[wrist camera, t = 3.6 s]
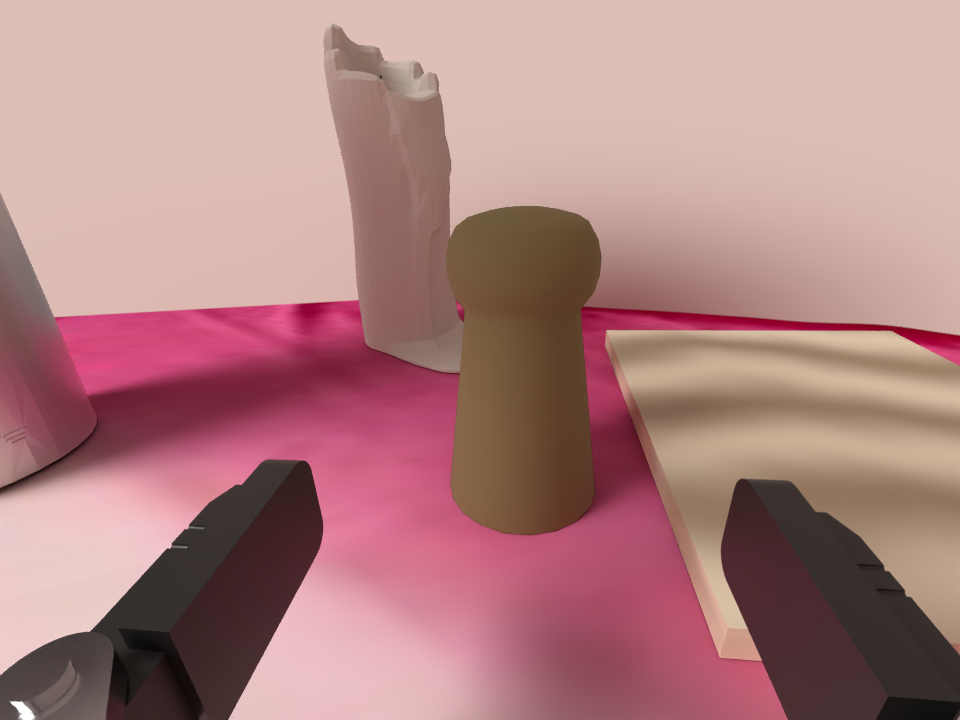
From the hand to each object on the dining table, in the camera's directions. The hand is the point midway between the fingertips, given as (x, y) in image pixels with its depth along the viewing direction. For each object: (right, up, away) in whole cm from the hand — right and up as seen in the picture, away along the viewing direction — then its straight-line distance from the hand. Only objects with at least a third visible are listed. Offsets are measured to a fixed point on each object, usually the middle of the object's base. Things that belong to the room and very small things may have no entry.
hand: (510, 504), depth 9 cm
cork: (+1, -2, +11) cm, 11 cm away
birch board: (+16, -1, +13) cm, 20 cm away
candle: (-3, +4, +25) cm, 25 cm away
